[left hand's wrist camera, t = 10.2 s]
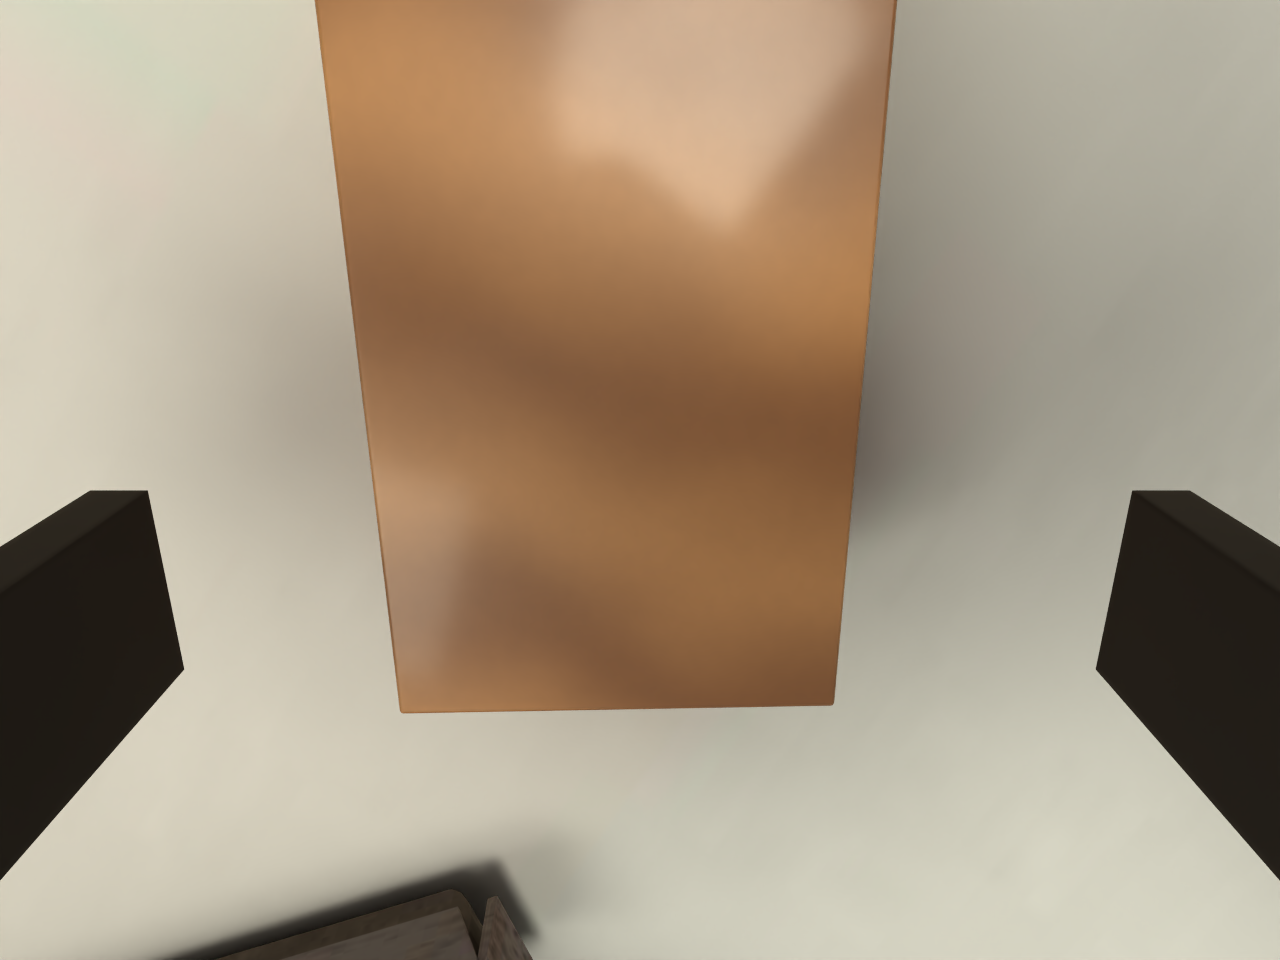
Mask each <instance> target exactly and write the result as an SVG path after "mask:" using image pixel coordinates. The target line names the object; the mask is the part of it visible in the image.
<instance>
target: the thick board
mask: <svg viewBox="0 0 1280 960" xmlns="http://www.w3.org/2000/svg"><path fill="white" fill-rule="evenodd" d="M315 6H316V14H317V23H318V31H319V39H320V48H321V56H322V64H323V73H324V81H325V89H326V98H327V106H328V114H329V123H330V131H331V139H332V148H333V156H334V164H335V173H336V181H337V189H338V198H339V206H340V214H341V223H342V231H343V239H344V248H345V256H346V264H347V273H348V281H349V289H350V298H351V306H352V314H353V323H354V331H355V339H356V348H357V356H358V364H359V373H360V381H361V390H362V398H363V406H364V415H365V423H366V431H367V440H368V448H369V456H370V465H371V473H372V481H373V490H374V498H375V506H376V515H377V523H378V531H379V540H380V548H381V556H382V565H383V573H384V581H385V590H386V598H387V606H388V615H389V623H390V631H391V640H392V648H393V656H394V665H395V673H396V681H397V690H398V698H399V706H400V711H401V713H444V712H499V711H555V710H610V709H666V708H721V707H777V706H831V705H833V703H834V697H835V686H836V675H837V664H838V653H839V642H840V631H841V620H842V608H843V597H844V586H845V575H846V564H847V553H848V542H849V531H850V519H851V508H852V497H853V486H854V475H855V464H856V453H857V441H858V430H859V419H860V408H861V397H862V386H863V375H864V364H865V352H866V341H867V330H868V319H869V308H870V297H871V286H872V275H873V263H874V252H875V241H876V230H877V219H878V208H879V197H880V186H881V174H882V163H883V152H884V141H885V130H886V119H887V108H888V97H889V85H890V74H891V63H892V52H893V41H894V30H895V19H896V7H897V0H315Z"/></svg>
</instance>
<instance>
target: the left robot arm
mask: <svg viewBox="0 0 1280 960" xmlns="http://www.w3.org/2000/svg"><path fill="white" fill-rule="evenodd" d="M183 670H184V666H183V661H182V656H181V651H180V646H179V641H178V637H177V632H176V627H175V622H174V617H173V612H172V607H171V602H170V597H169V593H168V588H167V583H166V578H165V573H164V568H163V563H162V558H161V553H160V548H159V544H158V539H157V534H156V529H155V524H154V519H153V514H152V509H151V504H150V500H149V495H148V491H89V492H87V493H86V494H84V495H82V496H81V497H79V498H78V499H76V500H74V501H73V502H71V503H70V504H68V505H66V506H65V507H63V508H62V509H60V510H58V511H57V512H55V513H54V514H52V515H50V516H49V517H47V518H46V519H44V520H42V521H41V522H39V523H38V524H36V525H34V526H33V527H31V528H30V529H28V530H26V531H25V532H23V533H22V534H20V535H18V536H17V537H15V538H14V539H12V540H10V541H9V542H7V543H6V544H4V545H2V546H1V547H0V880H1V879H2V878H3V877H4V875H5V874H6V873H7V872H8V871H9V870H10V869H11V867H12V866H13V865H14V864H15V863H16V862H17V860H18V859H19V858H20V857H21V856H22V855H23V854H24V852H25V851H26V850H27V849H28V848H29V847H30V846H31V844H32V843H33V842H34V841H35V840H36V839H37V838H38V836H39V835H40V834H41V833H42V832H43V831H44V830H45V828H46V827H47V826H48V825H49V824H50V823H51V821H52V820H53V819H54V818H55V817H56V816H57V815H58V813H59V812H60V811H61V810H62V809H63V808H64V807H65V805H66V804H67V803H68V802H69V801H70V800H71V799H72V797H73V796H74V795H75V794H76V793H77V792H78V791H79V789H80V788H81V787H82V786H83V785H84V784H85V782H86V781H87V780H88V779H89V778H90V777H91V776H92V774H93V773H94V772H95V771H96V770H97V769H98V768H99V766H100V765H101V764H102V763H103V762H104V761H105V760H106V758H107V757H108V756H109V755H110V754H111V753H112V752H113V750H114V749H115V748H116V747H117V746H118V745H119V744H120V742H121V741H122V740H123V739H124V738H125V737H126V735H127V734H128V733H129V732H130V731H131V730H132V729H133V727H134V726H135V725H136V724H137V723H138V722H139V721H140V719H141V718H142V717H143V716H144V715H145V714H146V713H147V711H148V710H149V709H150V708H151V707H152V706H153V705H154V703H155V702H156V701H157V700H158V699H159V698H160V696H161V695H162V694H163V693H164V692H165V691H166V690H167V688H168V687H169V686H170V685H171V684H172V683H173V682H174V680H175V679H176V678H177V677H178V676H179V675H180V674H181V672H182V671H183ZM1096 670H1097V671H1098V672H1099V674H1100V675H1101V676H1102V677H1103V678H1104V679H1105V680H1106V682H1107V683H1108V684H1109V685H1110V686H1111V687H1112V688H1113V690H1114V691H1115V692H1116V693H1117V694H1118V695H1119V696H1120V698H1121V699H1122V700H1123V701H1124V702H1125V703H1126V705H1127V706H1128V707H1129V708H1130V709H1131V710H1132V711H1133V713H1134V714H1135V715H1136V716H1137V717H1138V718H1139V719H1140V721H1141V722H1142V723H1143V724H1144V725H1145V726H1146V727H1147V729H1148V730H1149V731H1150V732H1151V733H1152V734H1153V735H1154V737H1155V738H1156V739H1157V740H1158V741H1159V742H1160V744H1161V745H1162V746H1163V747H1164V748H1165V749H1166V750H1167V752H1168V753H1169V754H1170V755H1171V756H1172V757H1173V758H1174V760H1175V761H1176V762H1177V763H1178V764H1179V765H1180V766H1181V768H1182V769H1183V770H1184V771H1185V772H1186V773H1187V774H1188V776H1189V777H1190V778H1191V779H1192V780H1193V781H1194V782H1195V784H1196V785H1197V786H1198V787H1199V788H1200V789H1201V791H1202V792H1203V793H1204V794H1205V795H1206V796H1207V797H1208V799H1209V800H1210V801H1211V802H1212V803H1213V804H1214V805H1215V807H1216V808H1217V809H1218V810H1219V811H1220V812H1221V813H1222V815H1223V816H1224V817H1225V818H1226V819H1227V820H1228V821H1229V823H1230V824H1231V825H1232V826H1233V827H1234V828H1235V830H1236V831H1237V832H1238V833H1239V834H1240V835H1241V836H1242V838H1243V839H1244V840H1245V841H1246V842H1247V843H1248V844H1249V846H1250V847H1251V848H1252V849H1253V850H1254V851H1255V852H1256V854H1257V855H1258V856H1259V857H1260V858H1261V859H1262V860H1263V862H1264V863H1265V864H1266V865H1267V866H1268V867H1269V869H1270V870H1271V871H1272V872H1273V873H1274V874H1275V875H1276V877H1277V878H1278V879H1279V880H1280V547H1279V546H1278V545H1276V544H1274V543H1273V542H1271V541H1270V540H1268V539H1266V538H1265V537H1263V536H1262V535H1260V534H1258V533H1257V532H1255V531H1254V530H1252V529H1250V528H1249V527H1247V526H1246V525H1244V524H1242V523H1241V522H1239V521H1238V520H1236V519H1234V518H1233V517H1231V516H1230V515H1228V514H1226V513H1225V512H1223V511H1222V510H1220V509H1218V508H1217V507H1215V506H1214V505H1212V504H1210V503H1209V502H1207V501H1206V500H1204V499H1202V498H1201V497H1199V496H1198V495H1196V494H1194V493H1193V492H1191V491H1132V495H1131V500H1130V504H1129V509H1128V514H1127V519H1126V524H1125V529H1124V534H1123V539H1122V544H1121V548H1120V553H1119V558H1118V563H1117V568H1116V573H1115V578H1114V583H1113V588H1112V593H1111V597H1110V602H1109V607H1108V612H1107V617H1106V622H1105V627H1104V632H1103V637H1102V641H1101V646H1100V651H1099V656H1098V661H1097V666H1096Z"/></svg>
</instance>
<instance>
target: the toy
mask: <svg viewBox="0 0 1280 960" xmlns="http://www.w3.org/2000/svg"><path fill="white" fill-rule="evenodd" d="M215 960H533V959H532V957H531V956H530V954H529V952H528V950H527V948H526V947H525V945H524V943H523V941H522V939H521V938H520V936H519V934H518V932H517V930H516V929H515V927H514V925H513V923H512V921H511V920H510V918H509V916H508V914H507V912H506V911H505V909H504V907H503V905H502V903H501V902H500V900H499V898H498V896H494V897H491V898H488V899H487V905H486V911H485V917H484V923H483V926H482V925H481V923H480V921H479V919H478V918H477V916H476V914H475V913H474V911H473V909H472V907H471V906H470V904H469V902H468V901H467V899H466V898H465V897H464V895H463V894H462V893H461V892H459V891H456V890H454V889H449V890H446V891H443V892H439V893H436V894H433V895H429V896H426V897H422V898H419V899H416V900H412V901H409V902H406V903H402V904H399V905H396V906H392V907H389V908H386V909H382V910H379V911H376V912H372V913H369V914H366V915H362V916H359V917H355V918H352V919H349V920H345V921H342V922H339V923H335V924H332V925H329V926H325V927H322V928H319V929H315V930H312V931H309V932H305V933H302V934H298V935H295V936H292V937H288V938H285V939H282V940H278V941H275V942H272V943H268V944H265V945H262V946H258V947H255V948H252V949H248V950H245V951H242V952H238V953H235V954H231V955H228V956H225V957H221V958H218V959H215Z"/></svg>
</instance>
